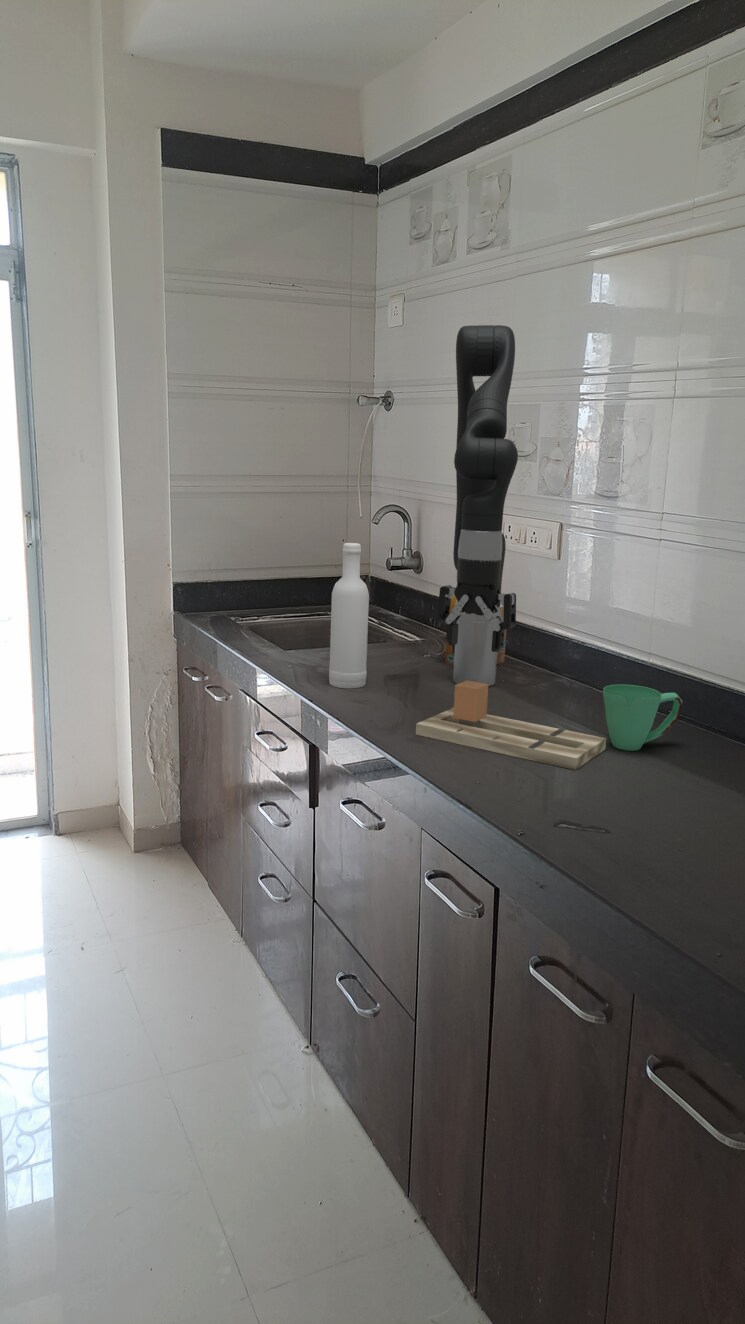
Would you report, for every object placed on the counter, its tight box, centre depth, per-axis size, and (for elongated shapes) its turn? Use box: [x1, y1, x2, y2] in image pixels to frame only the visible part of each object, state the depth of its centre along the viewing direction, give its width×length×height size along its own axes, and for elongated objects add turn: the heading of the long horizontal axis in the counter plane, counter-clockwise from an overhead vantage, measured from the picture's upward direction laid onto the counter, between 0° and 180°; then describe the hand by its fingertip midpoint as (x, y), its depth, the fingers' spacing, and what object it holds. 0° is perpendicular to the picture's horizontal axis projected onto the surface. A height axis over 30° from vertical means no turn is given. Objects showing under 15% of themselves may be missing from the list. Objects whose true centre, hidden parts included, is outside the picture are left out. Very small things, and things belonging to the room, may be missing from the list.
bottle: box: [328, 542, 370, 689], centre depth 200 cm, size 8×8×30 cm
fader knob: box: [453, 681, 489, 728], centre depth 170 cm, size 4×4×9 cm
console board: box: [415, 707, 607, 771], centre depth 167 cm, size 14×30×2 cm, turn 57°
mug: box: [602, 684, 683, 752], centre depth 167 cm, size 15×10×10 cm
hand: (473, 648), depth 168 cm, fingers open, 8 cm apart
